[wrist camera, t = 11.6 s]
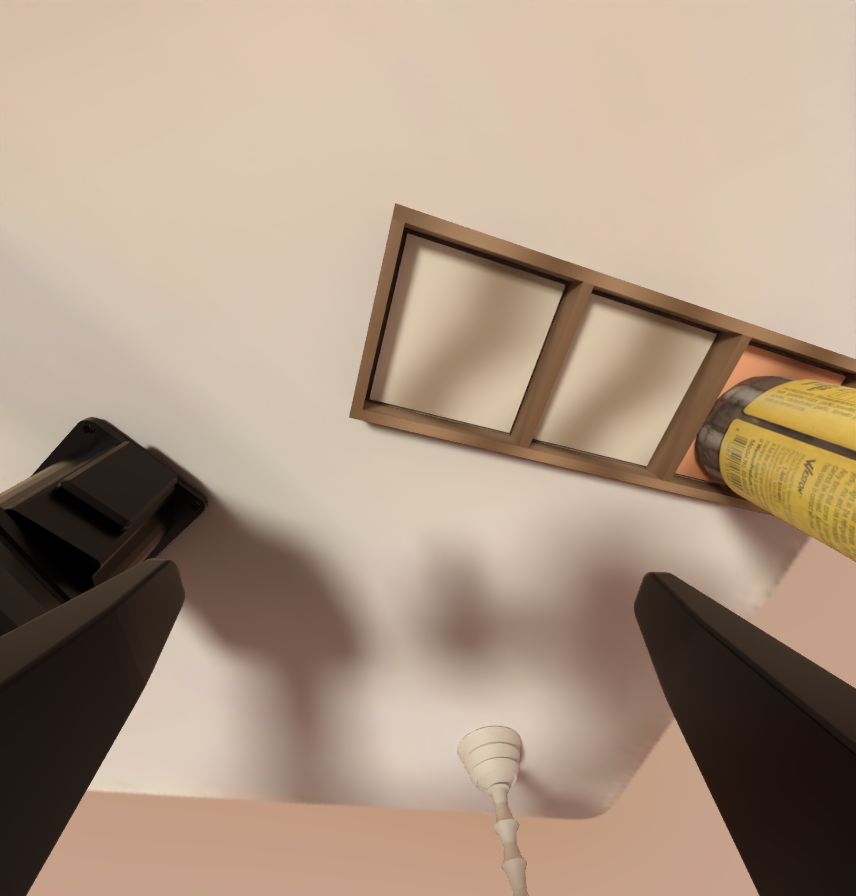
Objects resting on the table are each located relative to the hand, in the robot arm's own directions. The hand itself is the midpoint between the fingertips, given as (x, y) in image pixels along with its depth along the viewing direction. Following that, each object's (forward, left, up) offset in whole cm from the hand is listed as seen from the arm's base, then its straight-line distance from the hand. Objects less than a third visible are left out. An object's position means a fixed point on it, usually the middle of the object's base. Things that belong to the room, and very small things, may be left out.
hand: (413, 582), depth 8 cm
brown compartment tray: (+8, -7, -13) cm, 17 cm away
